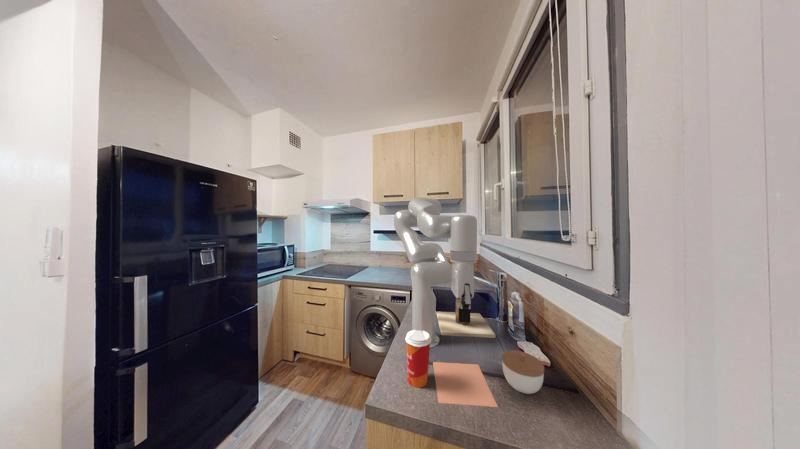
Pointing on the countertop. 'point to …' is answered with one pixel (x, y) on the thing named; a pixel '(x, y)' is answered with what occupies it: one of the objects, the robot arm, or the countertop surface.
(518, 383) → the lidded jar
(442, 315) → the birch lid
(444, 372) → the terracotta mat
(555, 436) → the countertop surface
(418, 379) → the paper cup
